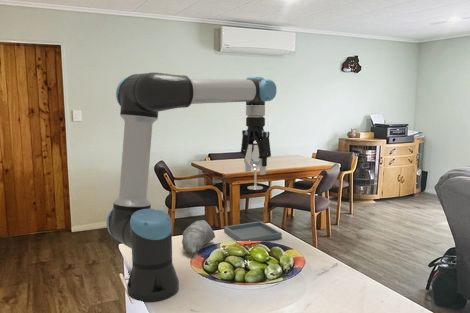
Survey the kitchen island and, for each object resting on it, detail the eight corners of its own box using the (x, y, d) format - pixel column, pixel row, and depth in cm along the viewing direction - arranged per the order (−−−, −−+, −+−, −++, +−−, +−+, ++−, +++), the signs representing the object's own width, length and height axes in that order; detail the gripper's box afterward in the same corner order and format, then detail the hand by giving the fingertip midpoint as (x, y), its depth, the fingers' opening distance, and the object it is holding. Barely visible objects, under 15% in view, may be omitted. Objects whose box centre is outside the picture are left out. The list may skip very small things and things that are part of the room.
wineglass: (250, 185, 166) (250, 142, 163) (268, 187, 162) (268, 143, 160) (242, 189, 158) (242, 144, 156) (260, 191, 155) (261, 145, 152)
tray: (242, 245, 154) (242, 239, 153) (224, 232, 170) (224, 226, 170) (281, 239, 161) (281, 233, 161) (260, 226, 177) (260, 221, 177)
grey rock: (192, 259, 140) (191, 232, 139) (170, 248, 151) (169, 223, 150) (226, 248, 151) (226, 223, 150) (203, 238, 162) (202, 215, 161)
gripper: (281, 116, 151) (280, 175, 154) (245, 115, 167) (245, 168, 170) (266, 117, 146) (266, 177, 149) (231, 116, 162) (231, 170, 165)
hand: (255, 172), depth 159 cm, fingers closed on wineglass, 8 cm apart
